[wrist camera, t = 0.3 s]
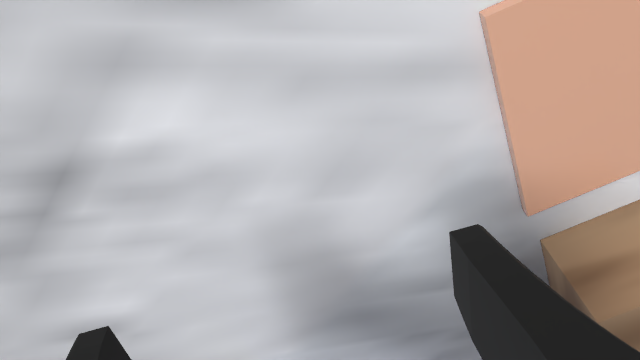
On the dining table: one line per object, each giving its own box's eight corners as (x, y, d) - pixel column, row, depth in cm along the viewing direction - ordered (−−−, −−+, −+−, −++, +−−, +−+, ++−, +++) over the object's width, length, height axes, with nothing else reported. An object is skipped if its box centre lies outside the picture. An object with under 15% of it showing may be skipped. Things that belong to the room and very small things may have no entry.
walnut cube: (644, 263, 31) (712, 342, 27) (551, 299, 31) (605, 383, 27) (642, 197, 27) (718, 276, 24) (539, 239, 28) (597, 323, 24)
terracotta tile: (744, 118, 25) (752, 124, 25) (522, 209, 26) (527, 216, 26) (770, -118, 19) (782, -115, 19) (479, 11, 20) (484, 17, 20)
